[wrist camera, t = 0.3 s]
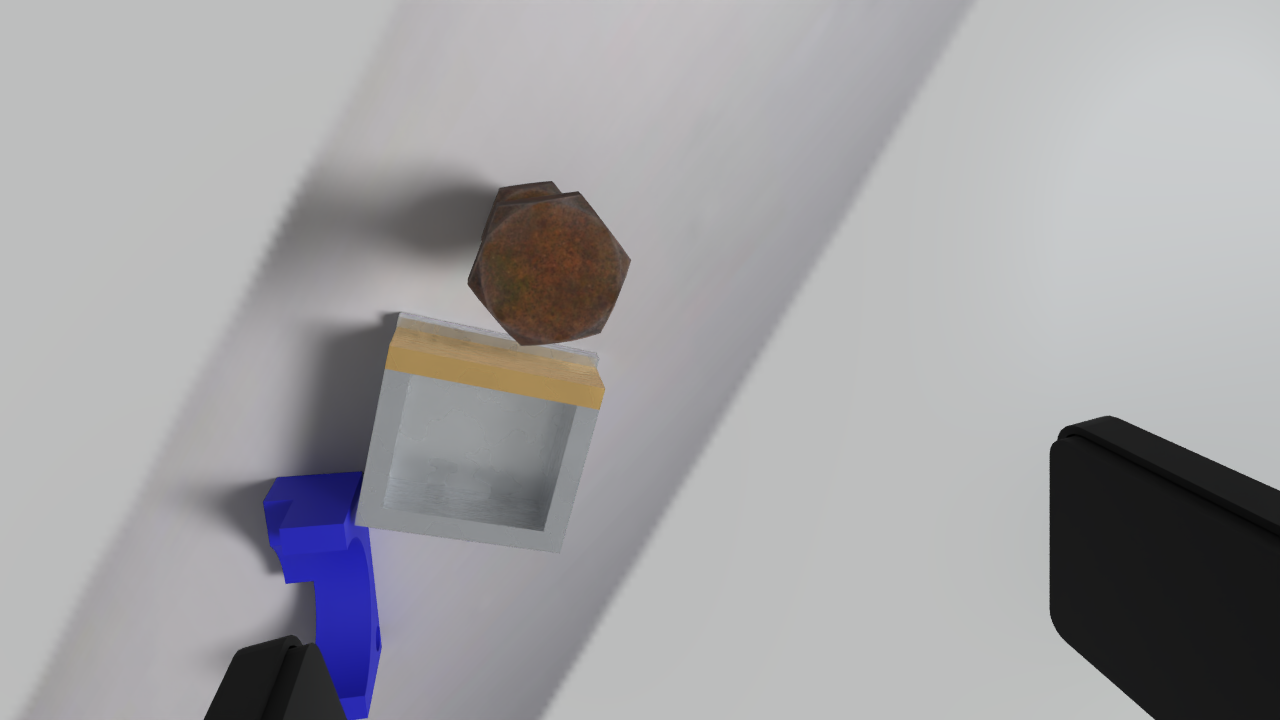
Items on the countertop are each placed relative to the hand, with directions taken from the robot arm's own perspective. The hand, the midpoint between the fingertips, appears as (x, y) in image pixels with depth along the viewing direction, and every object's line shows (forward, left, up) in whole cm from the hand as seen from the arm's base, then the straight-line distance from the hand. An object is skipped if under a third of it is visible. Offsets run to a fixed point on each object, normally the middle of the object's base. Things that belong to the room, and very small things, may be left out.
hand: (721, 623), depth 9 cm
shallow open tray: (+11, -1, -33) cm, 35 cm away
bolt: (-1, -1, -34) cm, 34 cm away
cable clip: (+22, -7, -34) cm, 41 cm away
